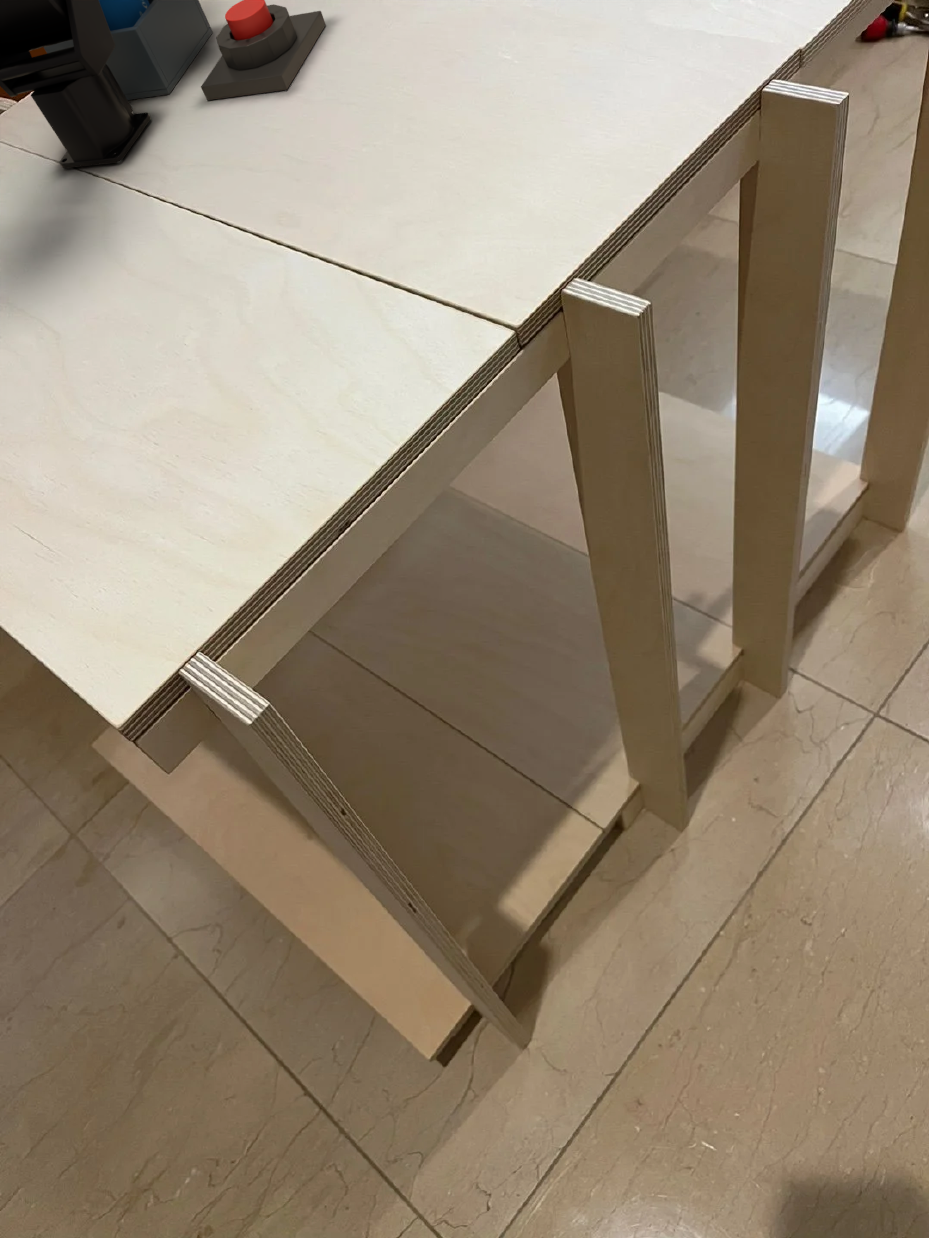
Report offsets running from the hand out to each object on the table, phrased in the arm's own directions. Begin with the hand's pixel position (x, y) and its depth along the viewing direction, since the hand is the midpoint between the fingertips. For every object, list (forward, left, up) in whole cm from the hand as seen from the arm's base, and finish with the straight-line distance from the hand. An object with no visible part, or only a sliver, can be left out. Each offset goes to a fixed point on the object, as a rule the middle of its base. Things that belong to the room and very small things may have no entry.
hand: (114, 10), depth 80 cm
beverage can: (0, 0, -5) cm, 5 cm away
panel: (-2, -14, -5) cm, 15 cm away
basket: (0, 0, -5) cm, 5 cm away
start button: (-2, -14, -3) cm, 14 cm away
